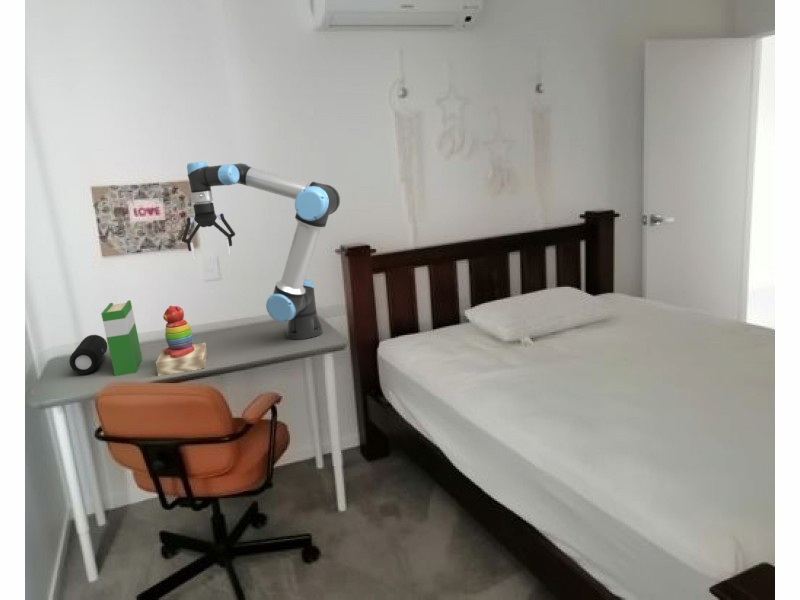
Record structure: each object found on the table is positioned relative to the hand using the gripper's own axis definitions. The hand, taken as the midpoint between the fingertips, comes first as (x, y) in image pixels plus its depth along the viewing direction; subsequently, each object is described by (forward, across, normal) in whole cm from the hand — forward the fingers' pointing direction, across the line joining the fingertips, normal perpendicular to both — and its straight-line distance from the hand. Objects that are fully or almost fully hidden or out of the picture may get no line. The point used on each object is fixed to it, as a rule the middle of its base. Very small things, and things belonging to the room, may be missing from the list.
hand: (212, 256), depth 238 cm
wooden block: (+37, -15, -18) cm, 44 cm away
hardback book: (+37, -36, -10) cm, 53 cm away
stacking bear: (+32, -15, -18) cm, 40 cm away
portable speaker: (+37, -52, 0) cm, 64 cm away
